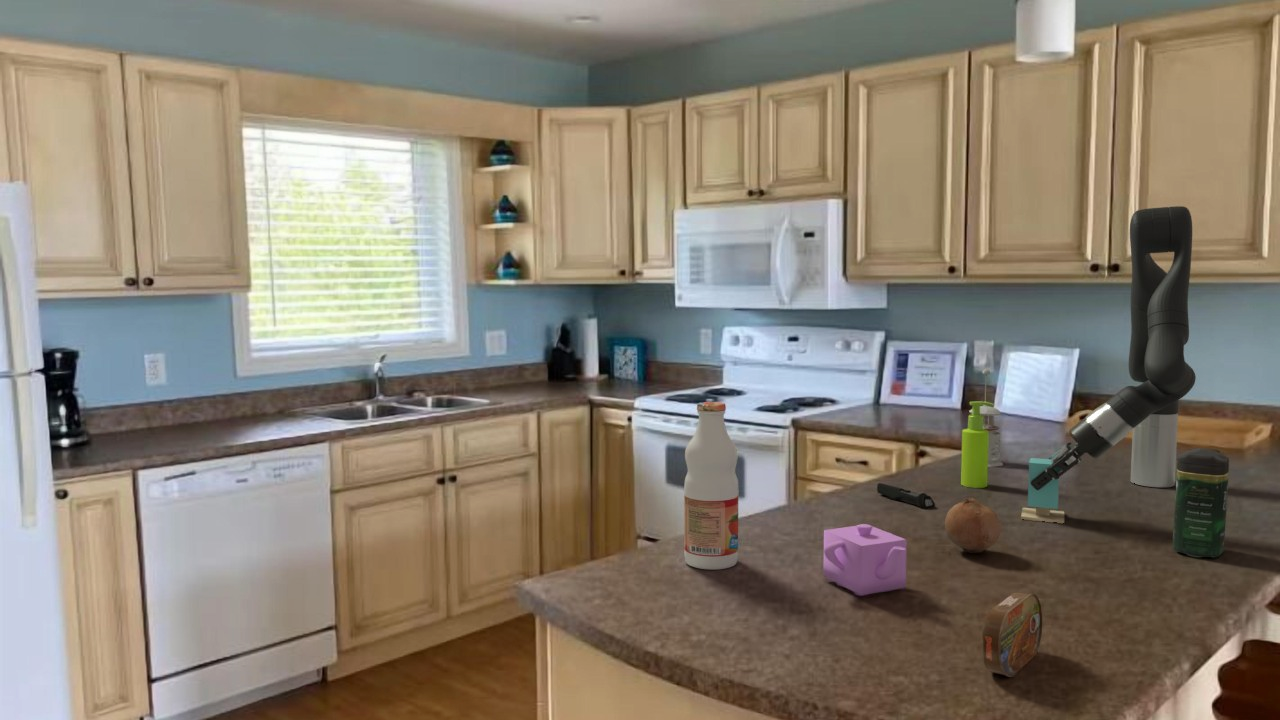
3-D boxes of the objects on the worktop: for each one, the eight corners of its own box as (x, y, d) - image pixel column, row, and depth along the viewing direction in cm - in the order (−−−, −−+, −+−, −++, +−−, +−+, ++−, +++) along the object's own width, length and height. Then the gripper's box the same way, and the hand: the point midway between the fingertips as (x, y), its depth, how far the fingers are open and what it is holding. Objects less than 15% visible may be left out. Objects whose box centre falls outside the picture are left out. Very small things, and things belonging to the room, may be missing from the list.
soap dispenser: (993, 488, 216) (996, 403, 214) (962, 487, 217) (964, 403, 216) (989, 483, 222) (991, 400, 220) (959, 482, 223) (961, 399, 221)
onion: (937, 545, 171) (939, 492, 170) (989, 545, 171) (990, 492, 170) (953, 560, 162) (955, 504, 161) (1008, 561, 161) (1009, 504, 160)
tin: (1001, 686, 112) (1003, 619, 112) (976, 679, 115) (978, 613, 114) (1044, 649, 124) (1046, 587, 123) (1020, 643, 126) (1022, 582, 125)
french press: (963, 465, 243) (965, 370, 241) (965, 457, 254) (967, 366, 251) (1003, 467, 239) (1006, 371, 237) (1003, 459, 250) (1006, 367, 248)
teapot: (937, 600, 142) (938, 536, 141) (862, 614, 137) (863, 547, 136) (864, 567, 159) (865, 509, 158) (795, 578, 153) (796, 518, 152)
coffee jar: (1221, 562, 160) (1226, 456, 158) (1168, 554, 165) (1173, 451, 163) (1227, 549, 168) (1232, 448, 166) (1177, 541, 172) (1182, 443, 171)
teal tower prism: (1028, 500, 194) (1030, 458, 193) (1058, 502, 192) (1059, 460, 191) (1027, 506, 189) (1029, 462, 188) (1057, 508, 187) (1059, 464, 186)
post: (1022, 510, 196) (1023, 475, 195) (1064, 514, 193) (1065, 478, 192) (1020, 519, 189) (1022, 482, 188) (1064, 523, 185) (1065, 486, 185)
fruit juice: (678, 556, 165) (677, 400, 163) (728, 552, 167) (728, 399, 165) (692, 572, 156) (692, 408, 153) (745, 568, 158) (746, 406, 156)
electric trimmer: (885, 494, 213) (885, 481, 212) (936, 508, 199) (936, 494, 199) (872, 496, 211) (873, 483, 211) (923, 510, 197) (923, 496, 197)
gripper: (1086, 411, 192) (1022, 463, 198) (1087, 421, 179) (1018, 476, 185) (1113, 438, 190) (1048, 490, 196) (1117, 450, 177) (1046, 505, 183)
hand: (1034, 483), depth 191 cm, fingers closed on teal tower prism, 5 cm apart
